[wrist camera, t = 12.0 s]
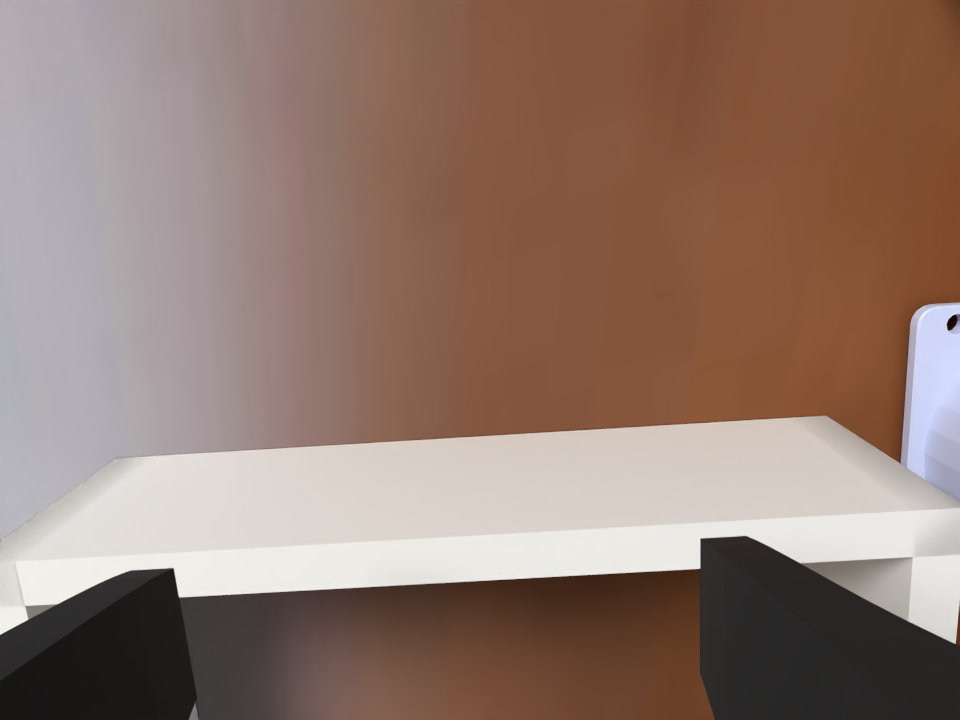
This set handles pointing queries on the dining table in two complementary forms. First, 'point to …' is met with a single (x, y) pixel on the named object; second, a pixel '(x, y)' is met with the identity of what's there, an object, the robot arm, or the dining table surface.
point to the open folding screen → (499, 515)
